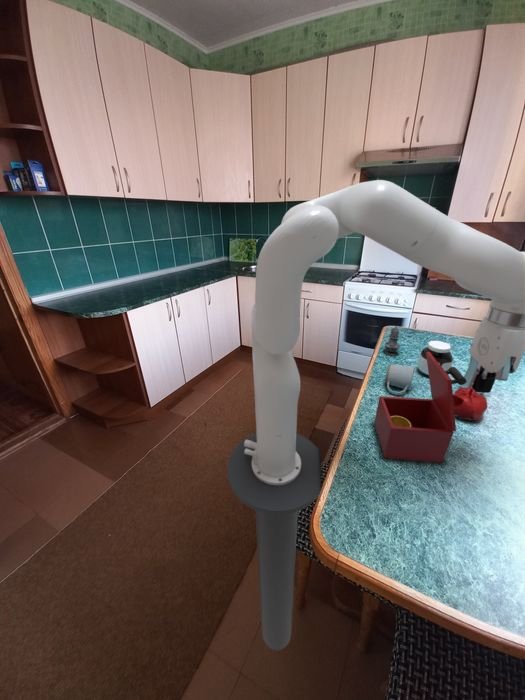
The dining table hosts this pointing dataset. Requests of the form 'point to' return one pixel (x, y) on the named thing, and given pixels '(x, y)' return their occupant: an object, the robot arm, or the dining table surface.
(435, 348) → the spread jar
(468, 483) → the dining table surface
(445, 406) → the lid
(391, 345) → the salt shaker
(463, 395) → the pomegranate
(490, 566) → the dining table surface
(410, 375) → the ceramic mug
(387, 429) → the red lidded box
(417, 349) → the dining table surface
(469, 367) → the plastic bottle
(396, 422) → the cup
